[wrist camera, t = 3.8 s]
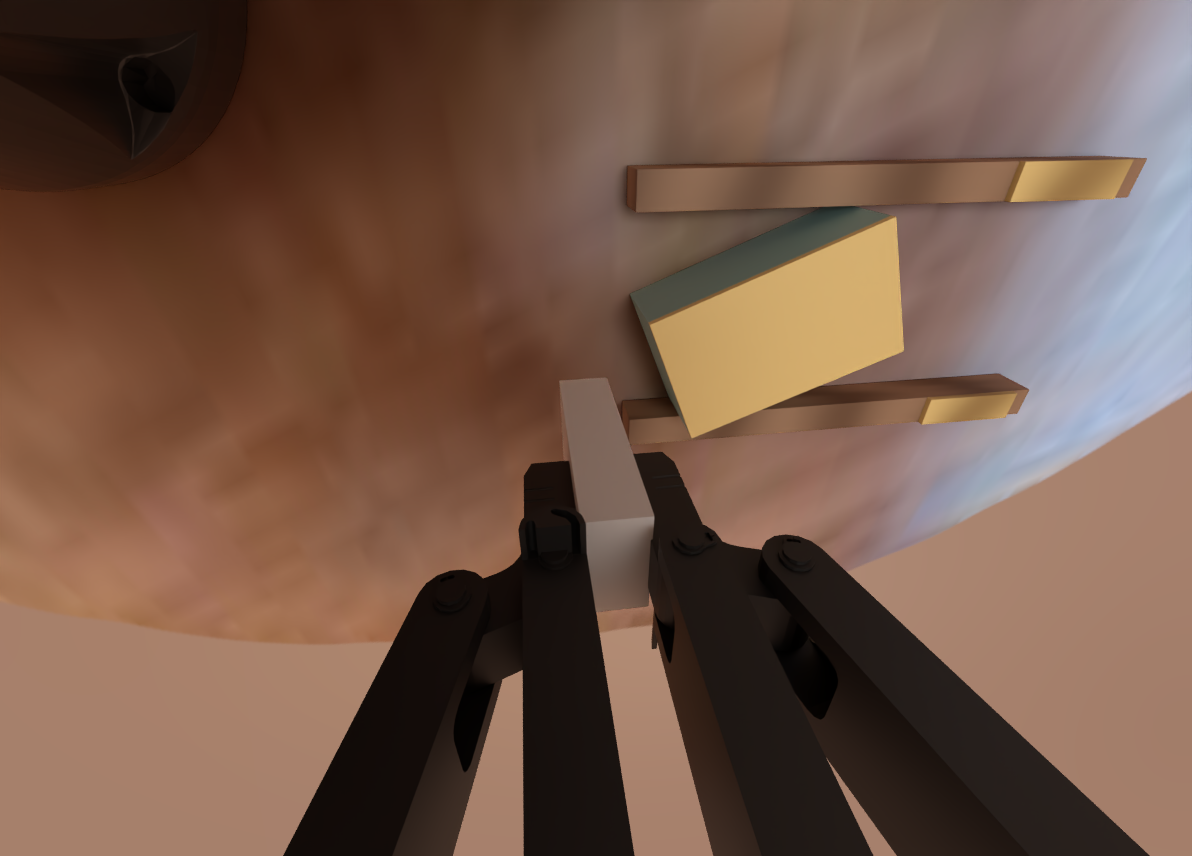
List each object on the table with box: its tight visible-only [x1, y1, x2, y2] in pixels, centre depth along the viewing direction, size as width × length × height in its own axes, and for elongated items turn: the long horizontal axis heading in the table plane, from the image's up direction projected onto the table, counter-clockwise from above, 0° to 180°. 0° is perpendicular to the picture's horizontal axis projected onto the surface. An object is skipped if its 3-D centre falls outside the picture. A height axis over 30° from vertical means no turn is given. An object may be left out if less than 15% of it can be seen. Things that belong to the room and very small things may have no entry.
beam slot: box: [622, 156, 1147, 445], centre depth 24 cm, size 22×12×2 cm, turn 91°
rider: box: [630, 206, 904, 438], centre depth 23 cm, size 10×6×4 cm, turn 113°
